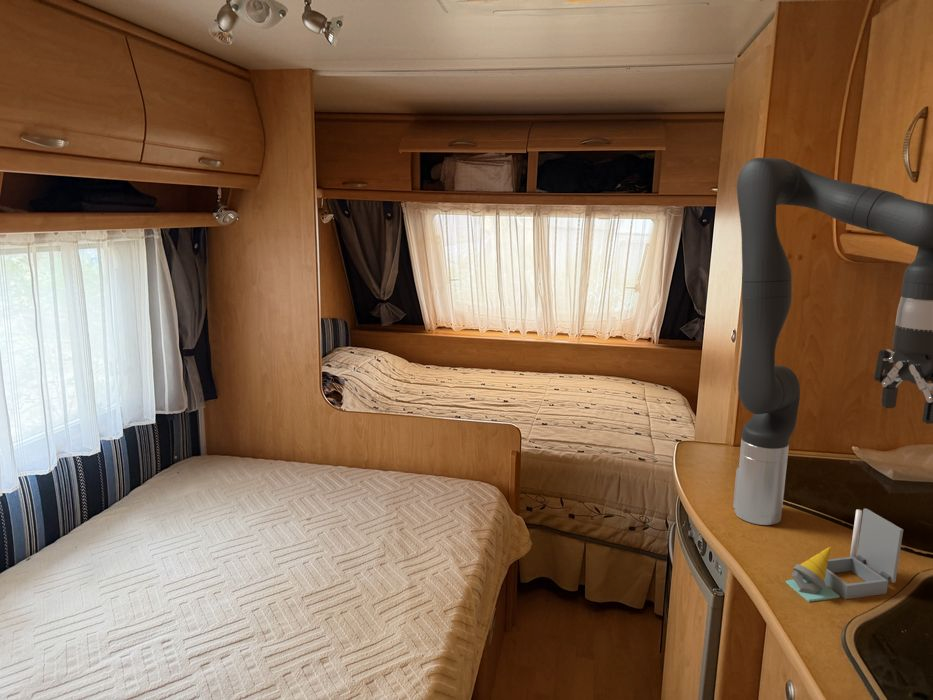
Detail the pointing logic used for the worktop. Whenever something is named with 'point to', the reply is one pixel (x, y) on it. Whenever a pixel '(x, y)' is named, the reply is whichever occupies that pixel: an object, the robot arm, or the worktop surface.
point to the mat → (820, 595)
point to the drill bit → (812, 572)
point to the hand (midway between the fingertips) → (908, 415)
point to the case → (868, 557)
